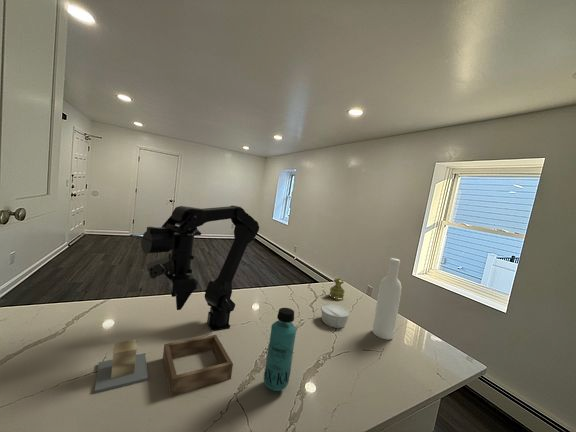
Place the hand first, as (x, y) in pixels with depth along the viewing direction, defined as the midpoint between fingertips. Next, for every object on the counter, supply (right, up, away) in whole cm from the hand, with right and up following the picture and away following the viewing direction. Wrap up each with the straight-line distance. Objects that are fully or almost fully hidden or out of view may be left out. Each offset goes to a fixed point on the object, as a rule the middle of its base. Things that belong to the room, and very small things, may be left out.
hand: (176, 302), depth 73 cm
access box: (+9, -14, -8) cm, 18 cm away
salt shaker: (+58, -17, +57) cm, 83 cm away
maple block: (-7, -12, -13) cm, 19 cm away
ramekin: (+51, -18, +29) cm, 62 cm away
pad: (-7, -12, -13) cm, 19 cm away
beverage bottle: (+29, -18, -11) cm, 36 cm away
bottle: (+70, -21, +25) cm, 77 cm away
